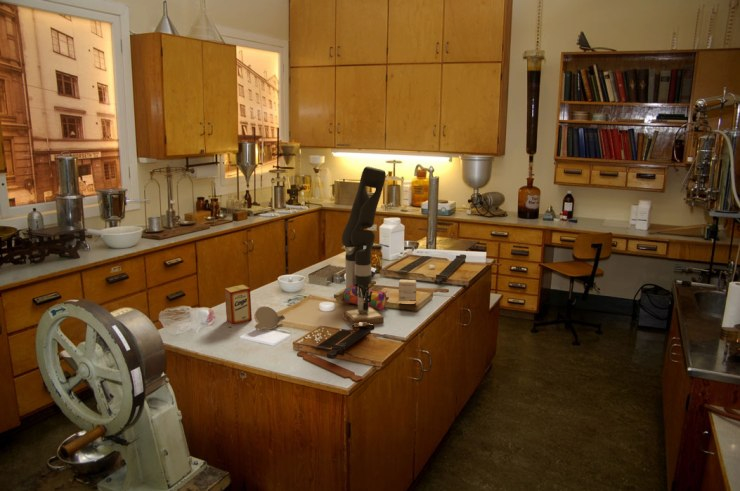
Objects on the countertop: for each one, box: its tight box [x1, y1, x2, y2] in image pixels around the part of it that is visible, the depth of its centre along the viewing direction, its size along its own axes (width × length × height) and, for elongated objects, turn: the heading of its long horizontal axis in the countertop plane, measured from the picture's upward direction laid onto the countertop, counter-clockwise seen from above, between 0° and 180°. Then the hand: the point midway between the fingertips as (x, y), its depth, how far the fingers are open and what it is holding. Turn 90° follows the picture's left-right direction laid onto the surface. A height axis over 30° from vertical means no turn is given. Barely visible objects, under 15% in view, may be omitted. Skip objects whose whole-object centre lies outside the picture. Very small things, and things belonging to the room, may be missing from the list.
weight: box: [357, 295, 369, 313], centre depth 258 cm, size 5×5×8 cm
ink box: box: [398, 279, 417, 302], centre depth 280 cm, size 9×5×12 cm, turn 84°
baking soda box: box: [224, 284, 253, 325], centre depth 258 cm, size 10×6×16 cm
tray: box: [342, 307, 385, 326], centre depth 260 cm, size 14×14×3 cm
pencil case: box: [343, 286, 390, 310], centre depth 277 cm, size 22×9×9 cm, turn 64°
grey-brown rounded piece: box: [253, 305, 286, 331], centre depth 253 cm, size 15×8×11 cm, turn 138°
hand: (363, 308), depth 259 cm, fingers closed on weight, 5 cm apart
